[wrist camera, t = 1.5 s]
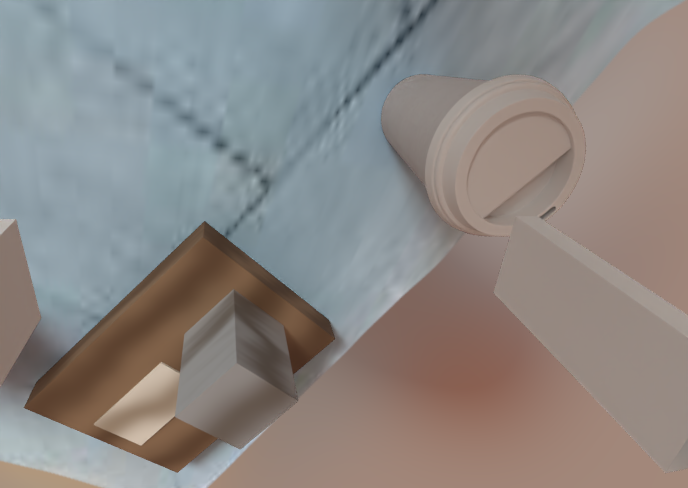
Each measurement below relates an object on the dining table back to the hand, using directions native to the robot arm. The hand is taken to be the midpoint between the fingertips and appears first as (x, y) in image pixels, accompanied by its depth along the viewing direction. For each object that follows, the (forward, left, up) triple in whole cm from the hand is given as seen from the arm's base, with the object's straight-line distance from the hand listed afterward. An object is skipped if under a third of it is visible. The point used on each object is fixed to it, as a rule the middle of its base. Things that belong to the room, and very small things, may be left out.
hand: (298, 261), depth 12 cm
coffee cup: (+10, +9, -25) cm, 29 cm away
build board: (+12, -21, -25) cm, 35 cm away
